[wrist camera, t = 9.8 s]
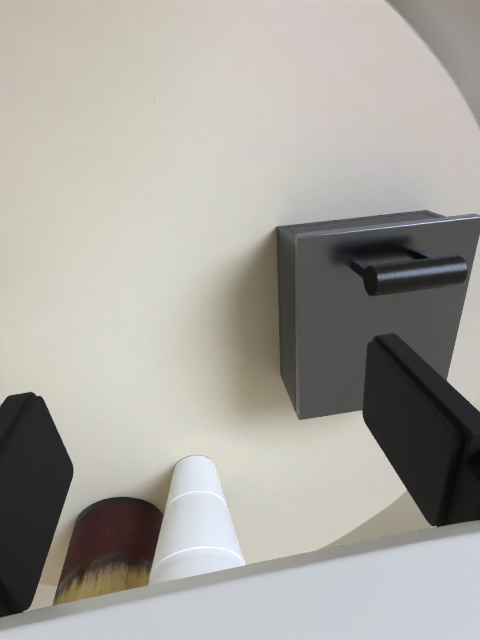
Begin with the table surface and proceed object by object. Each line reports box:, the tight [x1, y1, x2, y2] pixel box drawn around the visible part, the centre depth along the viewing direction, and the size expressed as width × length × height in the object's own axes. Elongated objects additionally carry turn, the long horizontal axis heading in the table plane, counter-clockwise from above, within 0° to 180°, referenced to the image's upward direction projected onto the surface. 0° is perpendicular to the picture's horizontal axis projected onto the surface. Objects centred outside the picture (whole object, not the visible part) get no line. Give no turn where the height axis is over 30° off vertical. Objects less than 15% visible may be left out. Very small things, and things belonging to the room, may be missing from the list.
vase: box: [52, 497, 164, 606], centre depth 36 cm, size 11×11×20 cm
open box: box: [276, 210, 446, 412], centre depth 33 cm, size 16×14×6 cm
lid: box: [295, 214, 480, 420], centre depth 28 cm, size 16×14×5 cm
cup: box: [148, 455, 245, 585], centre depth 35 cm, size 11×11×18 cm
